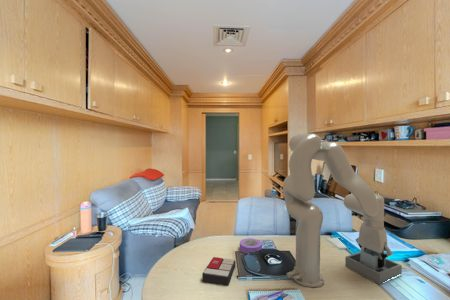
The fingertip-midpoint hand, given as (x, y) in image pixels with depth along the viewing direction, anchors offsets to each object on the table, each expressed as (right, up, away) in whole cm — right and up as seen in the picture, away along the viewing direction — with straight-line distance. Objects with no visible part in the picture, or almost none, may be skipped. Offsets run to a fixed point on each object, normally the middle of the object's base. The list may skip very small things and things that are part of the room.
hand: (372, 263), depth 99 cm
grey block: (0, -1, 0) cm, 1 cm away
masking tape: (-51, -3, +20) cm, 55 cm away
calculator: (-67, -4, -2) cm, 67 cm away
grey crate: (0, -3, 0) cm, 3 cm away
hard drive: (-1, -3, +26) cm, 27 cm away
